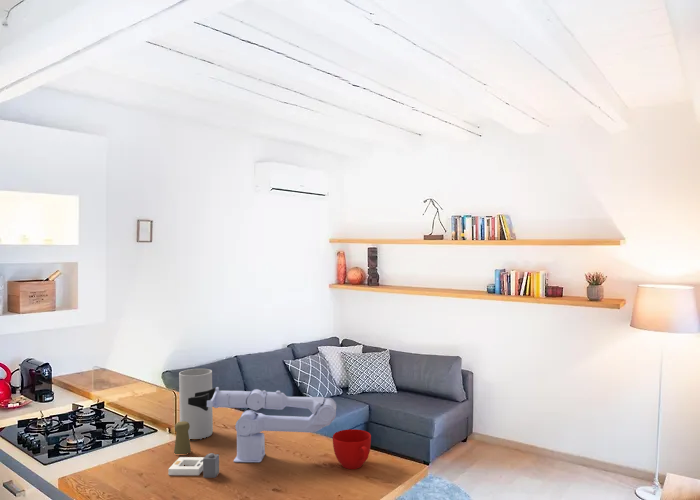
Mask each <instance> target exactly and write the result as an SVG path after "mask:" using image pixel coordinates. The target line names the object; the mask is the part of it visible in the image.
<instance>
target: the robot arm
mask: <svg viewBox="0 0 700 500" xmlns="http://www.w3.org/2000/svg"><path fill="white" fill-rule="evenodd" d="M188 404H189V405H192V406H196V407H199V408H202V409H203V410H205V411H207V410H208V407H212V408H214V409H217V408H233V409H234V408H235V409H236V408H238V409H239V408H241V409H243V408H247V410H244V411H243V412H242V413H241V415H240V417H239V419H237V421H236V423H235V431H236V456H235V458H234V459H233V463H261V462H262V461H263V459H264V457H265V455H266V450H265V447H266V446H265V445H266V444H265V441H266V440H265V433H264V431H265V432H289V433H291V432H292V433H316V432H318V431H320V430H321V429H323V428H325V427H327V426H330V425H331V424H332V423H333V422H334V420H335V418H336V415H337V413H336V412H337V407H338V406H337V402H336V401H335V400H334V399H333V398H331V397H324V396H288V395H286V394H285V392H281V390H276V391H266V390H265V389H264V390H260V389H259V388H254V389H253V390H251V391H250V390H246V391H245V390H220V387H219V386H216V387H212V389H211V390H208V391H203V392H197V393H195V397H191V398H188ZM286 407H291V408H298V409H307V410H309V411H310V413H311V415H310V416H296V415H295V416H294V415H293V416H292V415H266V414H264V413H261V412H256V411H259V410H261V409H266V410H279V411H281V410H284V409H285V408H286ZM248 408H249V409H248Z"/></svg>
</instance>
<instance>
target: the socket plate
mask: <svg viewBox="0 0 700 500" xmlns="http://www.w3.org/2000/svg"><path fill="white" fill-rule="evenodd" d="M204 457H205V456H203V457H201V456H198V457H197V456H196V457H195V456H193V457H192V456H189V457H188V456H179V457H178V459H176V460H175V461H174V462H173V464H171V466H170V467H169V468H168V471H167V472H168V475H167V476H200V474H201V473H203V458H204ZM184 465H185V466H184Z"/></svg>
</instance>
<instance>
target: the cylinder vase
mask: <svg viewBox="0 0 700 500" xmlns="http://www.w3.org/2000/svg"><path fill="white" fill-rule="evenodd" d="M178 384H179V385H178V386H179V389H178V390H179V392H178V393H179V395H178V396H179V422H181V421H186V422H188V423H189V425H190V428H189V430H188V433H189V439H200V440H203V439H202V438H204V439H206V437H207V438H209V437H210V436H212V434H213V433H214V432H213V431H214V429H213V423H214V422H213V421H214V420H213V417H214V416H213V407H208V410H207V411H205V410H203V409H202V408H199V407H196V406H192V405H189V404H188V398H191V397H195V393H197V392H203V391H208V390H211V389H213V370H212V369H209V368H191V369H186V370H183V371H180V372H179V373H178Z"/></svg>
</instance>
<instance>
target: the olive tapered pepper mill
mask: <svg viewBox="0 0 700 500" xmlns="http://www.w3.org/2000/svg"><path fill="white" fill-rule="evenodd" d="M189 428H190V425H189V423H188V422H186V421H181V422H180V421H178V422H176V423H175V424H174V432H175V433H176V434H175V442H174V447H173V448H174V449H173V454H174V453H175V454H187V453H190V452H191V453H192V447H191V440H189V433H188V430H189ZM191 453H190V454H191ZM187 455H188V454H187Z"/></svg>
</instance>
